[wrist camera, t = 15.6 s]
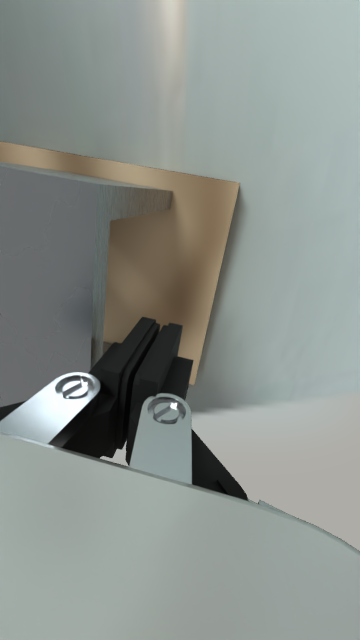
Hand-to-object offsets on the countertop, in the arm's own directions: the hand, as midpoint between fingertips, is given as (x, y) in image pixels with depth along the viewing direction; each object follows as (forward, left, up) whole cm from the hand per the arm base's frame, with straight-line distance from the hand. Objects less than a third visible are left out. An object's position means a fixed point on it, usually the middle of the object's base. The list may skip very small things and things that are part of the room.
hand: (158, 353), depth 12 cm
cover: (-5, 0, -8) cm, 10 cm away
